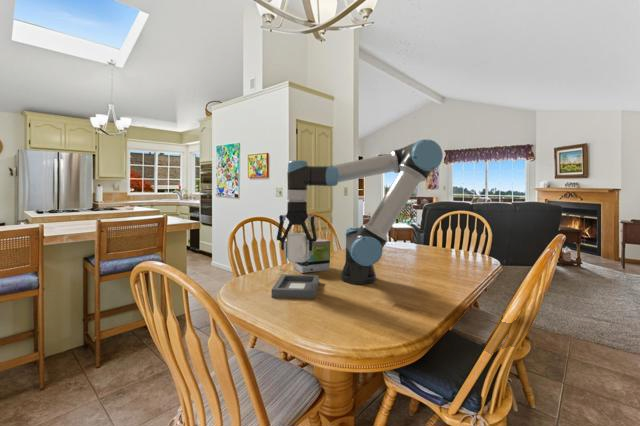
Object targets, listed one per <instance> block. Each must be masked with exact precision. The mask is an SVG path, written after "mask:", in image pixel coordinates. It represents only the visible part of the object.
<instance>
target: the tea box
mask: <svg viewBox="0 0 640 426" xmlns="http://www.w3.org/2000/svg"><path fill="white" fill-rule="evenodd" d="M308 242H309V241H308ZM330 264H331V241H330V240H329V239H326V238H322V237H317V240H316V241H314V242H313V243H312V251H310V258H309V260H306V261H304V262H293V269H294V270H295V271H297V272H299V273H301V274H304V273H306V274H307V273H313V272H314V273H315V272H323V271H324V272H325V271H330V266H331V265H330Z"/></svg>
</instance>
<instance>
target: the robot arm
mask: <svg viewBox="0 0 640 426" xmlns="http://www.w3.org/2000/svg"><path fill="white" fill-rule="evenodd" d="M443 156H444V155H443V150H442V147H441V145H439V143H437V142H436V141H434V140H432V139H420V140H418V141H416V142H413V143H410V144H408V145H407V146H404V147H401V148H399V149H395V150H391V152H390V153H388V154H383V155H378V156H372V157H367V158H363V159H359V160H353V161H348V162H344V163H339V164H334V165H328V166H327V165H326V166H325V165H322V166H318V165H315V166H313V165H308V162H307V160H289V162H288V163H287V172H286V174H287V192H286V193H287V197H286V198H287V199H286V200H288V201H287V204H286V205H287V206H286V207H287V210H286V211H287V212H286V214H280V215H279V217H278V218H279V224H278V228H277V229H278V230H277V235H276V240H277V241H278V242H280V243H281V244H280V245H281V246H280V248H281V251H283V260H287V235H288V234H290V231H291V229H292V226H296V225H297V226H301V227H302V230H303V233H305V234H306V236H307V239H308V241H309V242H307V260H309V258H310V251H312V243H313V242H314V241H316V240H317V238H318V236H317V231H316V225H315V218H316V217H315V215H309V214H308V210H307V209H308V205H307V204H308V202H307V200H308V186H309V187H313V186H315V187H335V186H338V184H339V183H342V182H347V181H352V180H356V179H361V178H367V177H372V176H377V175H382V174H386V173H390V172H393V173H395V174H397V175H396V177H395V179H394V181H393V182H392V184H390V186H389V188H388V189H387V191H386V193H385V195H384V196H383V198H382V199H381V201H380V203H378V204H379V205H378V206H377V207H376V209H375V210H374V213H373V214H372V216H371V217H370V219H369V221H368V222H367V223H364V224H361V226H359V227H347V228H346V230H345V261H344V265H343V268H342V271H341V275H340V277H341V278H340V279H341V281H343V282H345V283H348V284H352V285H353V284H354V285H367V284H368V285H369V284H373V283H375V282H376V281H377V280H376V279H377V274H376V271H375V268H374V265H375V264H377V263H378V262H379V261H380V260H381V258H382V255H383V248H384V247H385V245H386V244H387V242H388V233H389V231H390V230H391V228H392V227H393V225H394V224H395V222H396V220H397V219H398V217H399V216H400V214H401V212H402V211H403V210H404V208H405V206H406V205H407V203H408V202H409V200H410V198H411V197H412V195H413V194H414V192H415V190H416V189H417V188H418V186H419V184H420V183H421V182H425V181H426V180H427V179H428V177H429V176H430V174H431V173H432V171H434V170H436V169H437V168H438V167H439V166H440V165H441V163H442V162H443ZM286 219H287V220H288V225H287V227H286V229H285V231H284V233H283V228H284V223H285V221H286ZM307 219H308V221H309V222H310V228H311V233H312V236H311V234H310V231H309V229H308V226H307V225H306V224H307V223H306V220H307ZM282 234H283V236H282Z"/></svg>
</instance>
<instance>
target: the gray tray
mask: <svg viewBox="0 0 640 426" xmlns="http://www.w3.org/2000/svg"><path fill="white" fill-rule="evenodd" d="M319 283H320V275H319V274H317V275H316V274H289V273H288V274H287V273H286V274H283V273H281V275H280V276H279V278H278V279H277V280H276V281H275V283H274V284H273V287H272V288H271V298H277V299H279V298H283V299H285V298H286V299H287V298H288V299H309V300H310V299H314V300H316V296H317V292H318V287H319Z"/></svg>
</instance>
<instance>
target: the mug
mask: <svg viewBox="0 0 640 426" xmlns="http://www.w3.org/2000/svg"><path fill="white" fill-rule="evenodd" d="M286 241H287V258H286V260H287V261H288V262H291V263H294V262H304V261H306V260H307V242H308V239H307V236H306V234H305V232H289V233H288V235H287V237H286Z"/></svg>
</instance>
